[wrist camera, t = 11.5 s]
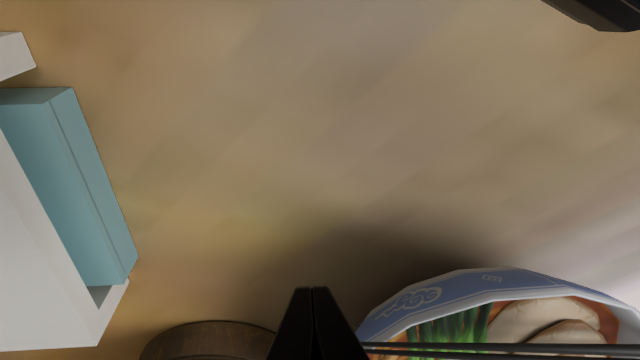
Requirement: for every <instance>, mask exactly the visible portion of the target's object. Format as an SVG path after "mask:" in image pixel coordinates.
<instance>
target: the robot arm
mask: <svg viewBox="0 0 640 360" xmlns="http://www.w3.org/2000/svg"><path fill="white" fill-rule="evenodd" d="M541 1H543V2H545V3H546V4H548V5H550V6H551V7H553V8H555V9H556V10H558V11H560V12H562V13H563V14H565V15H567V16H568V17H570V18H572V19H573V20H575V21H577V22H578V23H582V24H586V25H589V26H591V27H592V28H594V29H596V30H598V31H606V32H631V31H636V30H640V0H541ZM265 360H370V358H369V356H368V355H367V353H366V351H365V349H364V348H363V346H362V344H361V343H360V341H359V339H358V337H357V336H356V334H355V332H354V331H353V329H352V327H351V325H350V324H349V322H348V320H347V319H346V317H345V315H344V313H343V312H342V310H341V308H340V307H339V305H338V303H337V301H336V300H335V298H334V296H333V295H332V293H331V291H330V289H329V288H328V287H327V286H326V285H322V286H313V287H312V289H311V287H310V286H301V287H296V288H295V290H294V292H293V294H292V297H291V299H290V302H289V304H288V306H287V309H286V311H285V313H284V316H283V318H282V320H281V323H280V325H279V327H278V330H277V332H276V335H275V337H274V339H273V342H272V344H271V346H270V349H269V351H268V353H267V356H266V358H265Z"/></svg>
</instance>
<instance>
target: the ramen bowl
mask: <svg viewBox="0 0 640 360" xmlns="http://www.w3.org/2000/svg"><path fill="white" fill-rule="evenodd" d="M355 334H356V336H357V337H358V339H359V341H360V343H361V344H362V346H363V348H364V349H365V351H366V353H367V355H368V356H369V358H370V360H640V313H639V311H638V310H637V309H636V308H634V307H632V306H630V305H628V304H626V303H624V302H621V301H619V300H617V299H615V298H613V297H611V296H609V295H606V294H604V293H602V292H599V291H596V290H593V289H590V288H587V287H584V286H581V285H578V284H575V283H572V282H568V281H565V280H561V279H558V278H554V277H550V276H547V275H543V274H540V273H536V272H533V271H529V270H525V269H520V268H514V267H509V266H504V267H489V268H474V269H460V270H455V271H452V272H449V273H446V274H443V275H440V276H437V277H433V278H430V279H427V280H424V281H421V282H418V283H415V284H412V285H409V286H407V287H406V288H404V289H403V290H401V291H400V292H398V293H397V294H395V295H394V296H392V297H391V298H389V299H388V300H386V301H385V302H383V303H382V304H380V305H379V306H377V307H376V308H374V309H373V310H371V312H370V313H369V314H368V316H367V317H366V318H365V320H364V321H363V322H362V324H361V325H360V327H359V328H358V329H357V331H356V332H355Z"/></svg>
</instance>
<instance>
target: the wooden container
mask: <svg viewBox="0 0 640 360" xmlns="http://www.w3.org/2000/svg"><path fill="white" fill-rule="evenodd" d="M275 335H276V334H274V333H272V332H270V331H268V330H265V329H262V328H259V327H256V326H252V325H247V324H242V323H235V322H220V321H211V322H200V323H193V324H188V325H184V326H180V327H177V328H174V329H171V330H169V331H167V332H165V333H163V334H161V335H159V336H157V337H156V338H154V339H153V340H152V341H151V342H149V343H148V345H147V346H146V347H145V348H144V350H143V352H142V354H141V356H140V358H139V360H265V358H266V356H267V353H268V351H269V349H270V346H271V344H272V342H273V339H274V337H275Z"/></svg>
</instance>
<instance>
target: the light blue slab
mask: <svg viewBox="0 0 640 360" xmlns="http://www.w3.org/2000/svg"><path fill="white" fill-rule="evenodd" d="M0 129H1V131H2V132H3V134H4V136H5V138H6V140H7V142H8V144H9V145H10V147H11V149H12V151H13V153H14V155H15V156H16V158H17V160H18V162H19V164H20V166H21V168H22V169H23V171H24V173H25V175H26V177H27V179H28V180H29V182H30V184H31V186H32V188H33V190H34V192H35V193H36V195H37V197H38V199H39V201H40V203H41V204H42V206H43V208H44V210H45V212H46V214H47V216H48V217H49V219H50V221H51V223H52V225H53V227H54V228H55V230H56V232H57V234H58V236H59V238H60V240H61V241H62V243H63V245H64V247H65V249H66V251H67V253H68V254H69V256H70V258H71V260H72V262H73V264H74V265H75V267H76V269H77V271H78V273H79V275H80V277H81V278H82V280H83V282H84V284H85V286H104V285H124V283H125V281H126V279H127V277H128V276H129V274H130V272H131V270H132V268H133V266H134V264H135V262H136V260H137V258H138V257H139V256H138V253H137V250H136V248H135V245H134V243H133V240H132V238H131V235H130V233H129V230H128V228H127V225H126V223H125V220H124V217H123V215H122V212H121V210H120V207H119V205H118V202H117V200H116V197H115V195H114V192H113V190H112V187H111V184H110V182H109V179H108V177H107V174H106V172H105V169H104V167H103V164H102V162H101V159H100V156H99V154H98V151H97V149H96V146H95V144H94V141H93V139H92V136H91V134H90V131H89V129H88V126H87V123H86V121H85V118H84V116H83V113H82V111H81V108H80V106H79V103H78V101H77V98H76V95H75V93H74V90H73V88H72V87H49V88H0Z"/></svg>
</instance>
